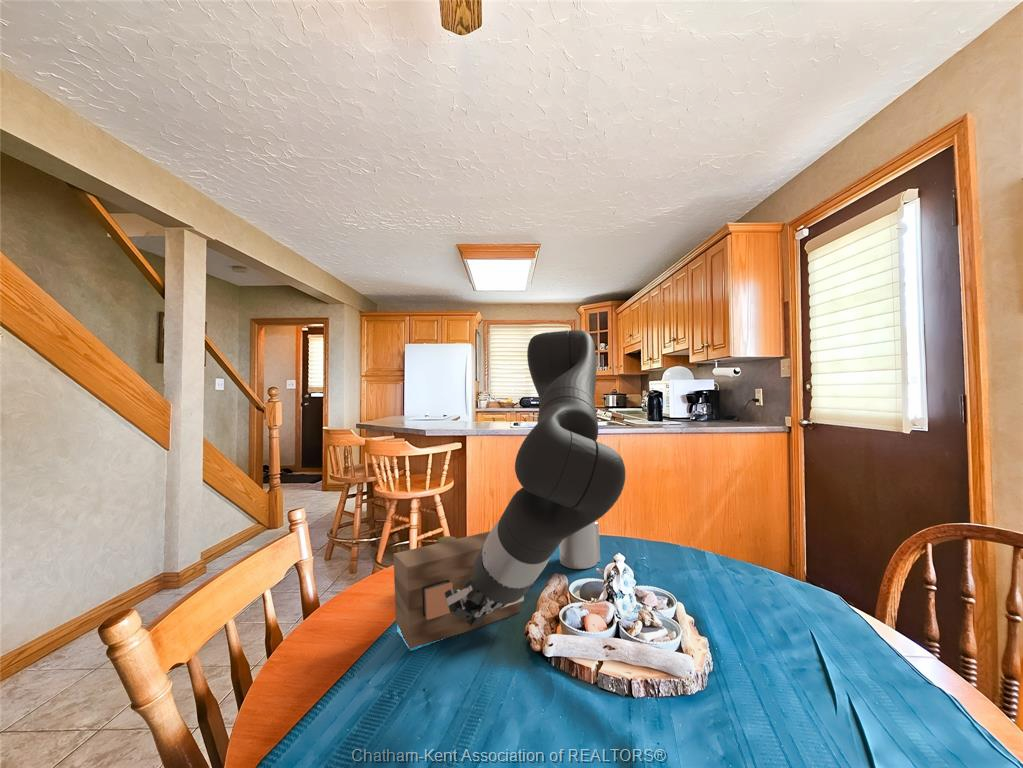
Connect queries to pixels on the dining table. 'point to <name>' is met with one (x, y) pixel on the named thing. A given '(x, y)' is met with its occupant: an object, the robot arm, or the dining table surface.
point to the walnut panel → (431, 568)
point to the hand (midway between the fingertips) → (472, 618)
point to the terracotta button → (435, 599)
